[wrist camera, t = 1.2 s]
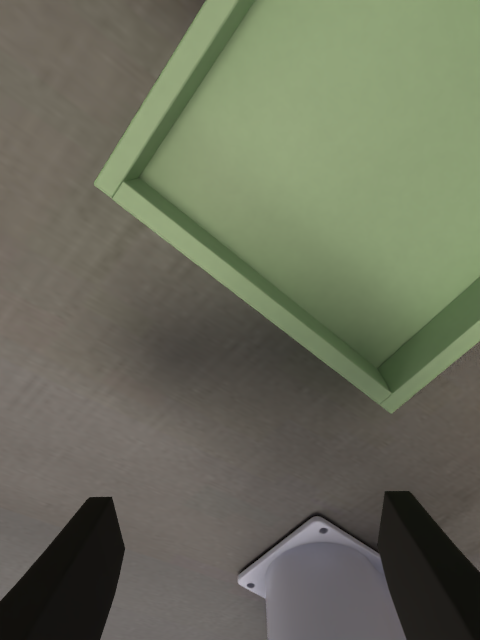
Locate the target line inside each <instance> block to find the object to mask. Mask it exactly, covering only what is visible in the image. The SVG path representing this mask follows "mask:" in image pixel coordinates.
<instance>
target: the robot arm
mask: <svg viewBox="0 0 480 640" xmlns="http://www.w3.org/2000/svg"><path fill="white" fill-rule="evenodd" d="M377 546H378V550H379V553H377V552H376V551H374V550H373V549H371V548H369V547H368V546H366V545H365V544H363V543H362V542H360V541H358V540H357V539H355V538H354V537H352V536H350V535H349V534H347V533H346V532H344V531H343V530H341V529H339V528H338V527H336V526H335V525H333V524H331V523H330V522H328V521H327V520H325V519H324V518H322V517H319V516H315V517H312V518H311V519H309V520H308V521H307V522H306V523H304V524H303V525H302V526H300V527H299V528H298V529H297V530H295V531H294V532H293V533H291V534H290V535H289V536H288V537H286V538H285V539H284V540H283V541H281V542H280V543H279V544H277V545H276V546H275V547H274V548H272V549H271V550H270V551H268V552H267V553H266V554H265V555H263V556H262V557H261V558H259V559H258V560H257V561H256V562H254V563H253V564H252V565H250V566H249V567H248V568H247V569H245V570H244V571H243V572H241V573H240V574H239V575H238V584H239V585H241V586H242V587H244V588H246V589H248V590H250V591H252V592H254V593H256V594H257V595H259V596H261V597H263V598H265V599H266V614H267V639H268V640H480V572H479V571H478V570H477V569H476V568H475V567H474V566H473V565H472V563H471V562H470V561H469V560H468V559H467V558H466V557H465V556H464V555H463V554H462V552H461V551H460V550H459V549H458V548H457V547H456V546H455V544H454V543H453V542H452V541H451V540H450V539H449V537H448V536H447V535H446V534H445V533H444V532H443V530H442V529H441V528H440V527H439V526H438V525H437V523H436V522H435V521H434V520H433V519H432V517H431V516H430V515H429V514H428V513H427V511H426V510H425V509H424V508H423V507H422V505H421V504H420V503H419V502H418V500H417V499H416V498H415V497H414V496H413V494H412V493H410V492H409V491H385V495H384V502H383V509H382V516H381V523H380V530H379V537H378V544H377ZM124 551H125V547H124V543H123V539H122V535H121V531H120V527H119V523H118V519H117V515H116V511H115V507H114V503H113V499H112V497H89V498H88V499H87V500H86V502H85V503H84V504H83V505H82V506H81V508H80V509H79V510H78V511H77V512H76V514H75V515H74V516H73V517H72V519H71V520H70V521H69V522H68V523H67V525H66V526H65V527H64V528H63V530H62V531H61V532H60V533H59V534H58V536H57V537H56V538H55V539H54V540H53V542H52V543H51V544H50V545H49V546H48V548H47V549H46V550H45V551H44V552H43V553H42V555H41V556H40V557H39V558H38V559H37V560H36V562H35V563H34V564H33V565H32V566H31V567H30V569H29V570H28V571H27V572H26V573H25V574H24V576H23V577H22V578H21V579H20V580H19V581H18V582H17V583H16V585H15V586H14V587H13V588H12V589H11V590H10V591H9V592H8V593H7V594H6V596H5V597H4V598H3V599H2V600H1V601H0V640H100V638H101V635H102V632H103V629H104V626H105V623H106V620H107V617H108V614H109V611H110V608H111V605H112V602H113V598H114V595H115V592H116V588H117V583H118V579H119V575H120V570H121V565H122V561H123V556H124Z"/></svg>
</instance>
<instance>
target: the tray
mask: <svg viewBox="0 0 480 640" xmlns="http://www.w3.org/2000/svg"><path fill="white" fill-rule="evenodd" d="M94 185H95V186H96V187H97V188H99V189H100V190H101V191H102V192H104V193H105V194H106V195H108V196H109V197H111V198H112V199H113V200H114V201H115V202H116V203H118V204H119V205H120V206H121V207H123V208H124V209H125V210H127V211H128V212H129V213H131V214H132V215H133V216H134V217H136V218H137V219H138V220H140V221H141V222H142V223H144V224H145V225H146V226H147V227H149V228H150V229H151V230H153V231H154V232H155V233H157V234H158V235H159V236H160V237H162V238H163V239H164V240H166V241H167V242H168V243H170V244H171V245H172V246H173V247H175V248H176V249H177V250H179V251H180V252H181V253H183V254H184V255H185V256H186V257H188V258H189V259H190V260H192V261H193V262H194V263H196V264H197V265H198V266H199V267H201V268H202V269H203V270H205V271H206V272H207V273H209V274H210V275H211V276H212V277H214V278H215V279H216V280H218V281H219V282H220V283H222V284H223V285H224V286H225V287H227V288H228V289H229V290H231V291H232V292H233V293H235V294H236V295H237V296H238V297H240V298H241V299H242V300H244V301H245V302H246V303H248V304H249V305H250V306H251V307H253V308H254V309H255V310H257V311H258V312H259V313H261V314H262V315H263V316H264V317H266V318H267V319H268V320H270V321H271V322H272V323H274V324H275V325H276V326H277V327H279V328H280V329H281V330H283V331H284V332H285V333H287V334H288V335H289V336H291V337H292V338H293V339H294V340H296V341H297V342H298V343H300V344H301V345H302V346H304V347H305V348H306V349H307V350H309V351H310V352H311V353H313V354H314V355H315V356H317V357H318V358H319V359H320V360H322V361H323V362H324V363H326V364H327V365H328V366H330V367H331V368H332V369H333V370H335V371H336V372H337V373H339V374H340V375H341V376H343V377H344V378H345V379H346V380H348V381H349V382H350V383H352V384H353V385H354V386H356V387H357V388H358V389H359V390H361V391H362V392H363V393H365V394H366V395H367V396H369V397H370V398H371V399H372V400H374V401H375V402H376V403H378V404H379V405H380V406H382V407H383V408H384V409H385V410H387V411H388V412H389V413H391V414H392V413H393V412H394V411H395V410H397V409H398V408H399V407H400V406H401V405H403V404H404V403H405V402H406V401H408V400H409V399H410V398H411V397H412V396H414V395H415V394H416V393H417V392H418V391H420V390H421V389H422V388H423V387H424V386H426V385H427V384H428V383H429V382H431V381H432V380H433V379H434V378H435V377H437V376H438V375H439V374H440V373H441V372H443V371H444V370H445V369H446V368H447V367H449V366H450V365H451V364H452V363H454V362H455V361H456V360H457V359H458V358H460V357H461V356H462V355H463V354H464V353H466V352H467V351H468V350H469V349H470V348H472V347H473V346H474V345H475V344H477V343H478V342H479V341H480V0H206V1H205V2H204V4H203V6H202V7H201V9H200V10H199V12H198V14H197V15H196V17H195V19H194V20H193V22H192V23H191V25H190V27H189V28H188V30H187V32H186V33H185V35H184V36H183V38H182V40H181V41H180V43H179V45H178V46H177V48H176V50H175V51H174V53H173V54H172V56H171V58H170V59H169V61H168V63H167V64H166V66H165V67H164V69H163V71H162V72H161V74H160V76H159V77H158V79H157V80H156V82H155V84H154V85H153V87H152V89H151V90H150V92H149V94H148V95H147V97H146V98H145V100H144V102H143V103H142V105H141V107H140V108H139V110H138V111H137V113H136V115H135V116H134V118H133V120H132V121H131V123H130V124H129V126H128V128H127V129H126V131H125V133H124V134H123V136H122V138H121V139H120V141H119V142H118V144H117V146H116V147H115V149H114V151H113V152H112V154H111V155H110V157H109V159H108V160H107V162H106V164H105V165H104V167H103V168H102V170H101V172H100V173H99V175H98V177H97V178H96V180H95V181H94Z"/></svg>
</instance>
